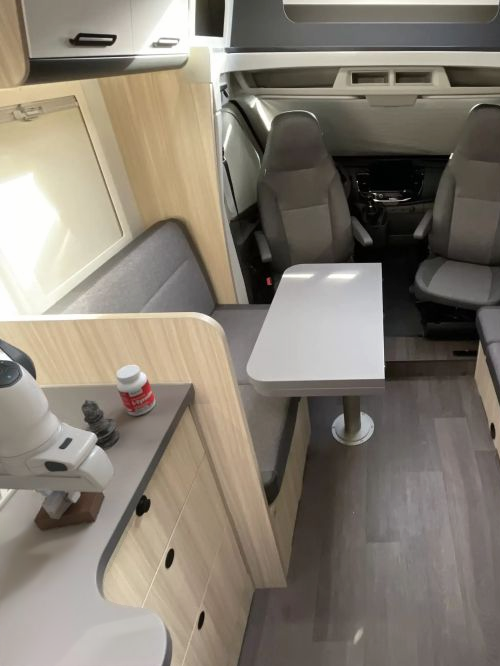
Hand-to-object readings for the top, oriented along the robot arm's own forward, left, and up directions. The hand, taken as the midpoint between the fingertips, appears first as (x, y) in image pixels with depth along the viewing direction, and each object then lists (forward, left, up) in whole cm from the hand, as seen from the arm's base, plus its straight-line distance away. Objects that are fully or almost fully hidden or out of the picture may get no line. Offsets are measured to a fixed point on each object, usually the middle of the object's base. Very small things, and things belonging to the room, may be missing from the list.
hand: (65, 498), depth 79 cm
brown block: (0, 0, -4) cm, 4 cm away
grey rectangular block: (0, 0, -1) cm, 1 cm away
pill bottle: (+5, +26, -4) cm, 27 cm away
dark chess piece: (0, +17, -4) cm, 17 cm away
